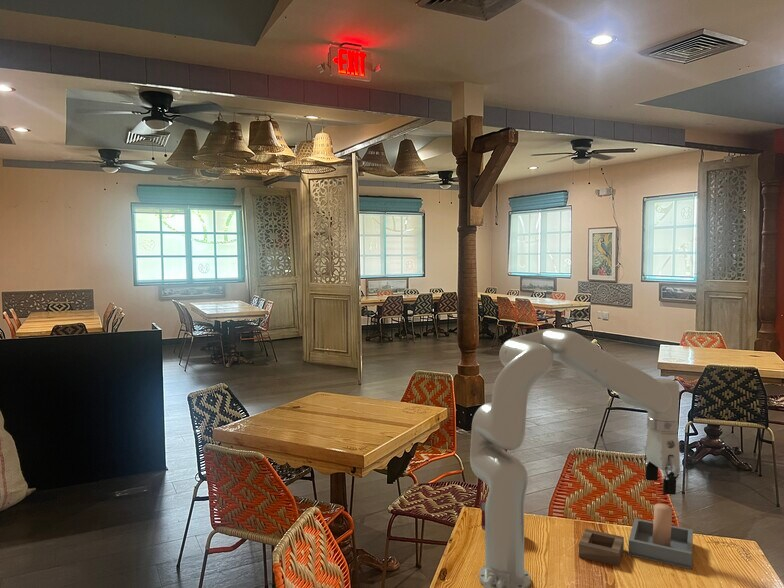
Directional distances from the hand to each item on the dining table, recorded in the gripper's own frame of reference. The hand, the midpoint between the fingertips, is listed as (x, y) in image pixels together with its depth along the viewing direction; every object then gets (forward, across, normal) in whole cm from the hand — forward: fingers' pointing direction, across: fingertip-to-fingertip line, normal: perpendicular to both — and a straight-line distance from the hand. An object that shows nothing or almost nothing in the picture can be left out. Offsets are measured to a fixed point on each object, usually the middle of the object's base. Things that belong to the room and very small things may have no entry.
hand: (660, 486), depth 150 cm
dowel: (+17, 0, -1) cm, 17 cm away
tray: (+18, 0, -1) cm, 18 cm away
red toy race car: (+19, +10, +41) cm, 46 cm away
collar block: (+18, -1, +16) cm, 24 cm away
